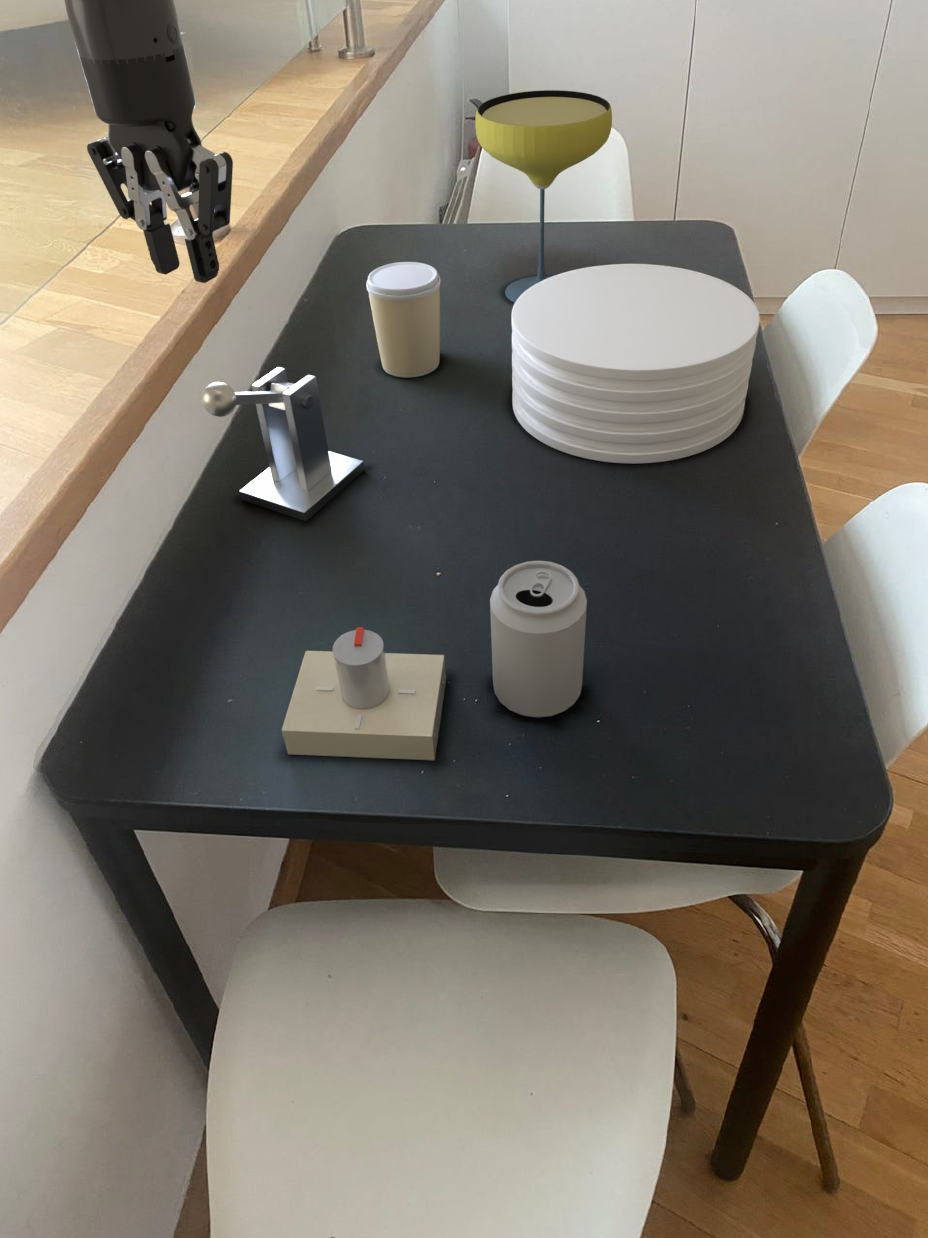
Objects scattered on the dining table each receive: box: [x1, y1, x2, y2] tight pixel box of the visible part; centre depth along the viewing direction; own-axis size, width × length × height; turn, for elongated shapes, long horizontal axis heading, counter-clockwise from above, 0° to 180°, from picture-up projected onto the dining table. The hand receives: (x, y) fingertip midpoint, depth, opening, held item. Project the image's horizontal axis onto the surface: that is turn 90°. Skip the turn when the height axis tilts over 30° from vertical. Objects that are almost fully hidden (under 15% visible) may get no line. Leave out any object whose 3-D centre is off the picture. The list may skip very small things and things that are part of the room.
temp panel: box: [281, 650, 447, 761], centre depth 76 cm, size 12×9×3 cm
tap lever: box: [201, 381, 296, 418], centre depth 91 cm, size 13×3×3 cm, turn 150°
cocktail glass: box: [474, 89, 613, 304], centre depth 129 cm, size 18×18×25 cm
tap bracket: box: [238, 366, 365, 522], centre depth 99 cm, size 11×9×13 cm
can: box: [489, 560, 588, 718], centre depth 74 cm, size 8×8×12 cm
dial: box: [332, 626, 390, 709], centre depth 73 cm, size 4×4×5 cm
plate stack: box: [510, 263, 761, 465], centre depth 109 cm, size 28×28×12 cm
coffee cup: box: [365, 261, 441, 378], centre depth 119 cm, size 9×9×12 cm
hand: (188, 273), depth 79 cm, fingers open, 4 cm apart
